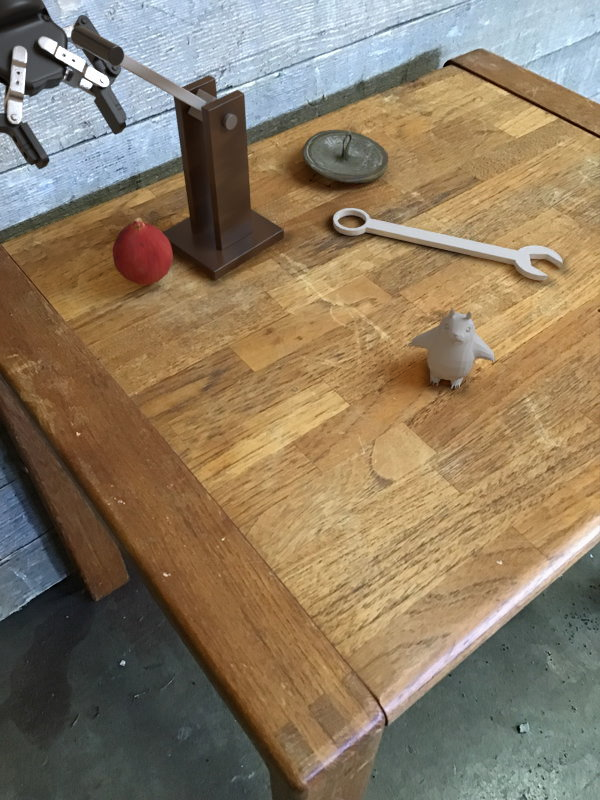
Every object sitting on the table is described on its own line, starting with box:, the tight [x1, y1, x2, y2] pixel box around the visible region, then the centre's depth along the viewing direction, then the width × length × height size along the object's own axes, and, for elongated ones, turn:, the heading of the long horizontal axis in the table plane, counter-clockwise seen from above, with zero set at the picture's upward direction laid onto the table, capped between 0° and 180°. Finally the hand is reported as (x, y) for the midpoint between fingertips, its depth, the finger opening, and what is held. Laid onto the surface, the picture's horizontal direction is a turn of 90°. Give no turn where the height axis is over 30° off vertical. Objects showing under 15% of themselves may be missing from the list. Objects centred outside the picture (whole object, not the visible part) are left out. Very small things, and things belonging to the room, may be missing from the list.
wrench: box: [332, 207, 564, 282], centre depth 79 cm, size 25×1×5 cm
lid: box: [301, 129, 389, 184], centre depth 88 cm, size 11×10×5 cm
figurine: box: [407, 308, 497, 390], centre depth 65 cm, size 8×6×8 cm
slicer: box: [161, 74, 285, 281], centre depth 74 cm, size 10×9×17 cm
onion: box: [111, 217, 174, 286], centre depth 73 cm, size 6×6×8 cm
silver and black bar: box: [71, 26, 218, 122], centre depth 63 cm, size 16×5×2 cm
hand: (84, 147), depth 69 cm, fingers open, 8 cm apart
